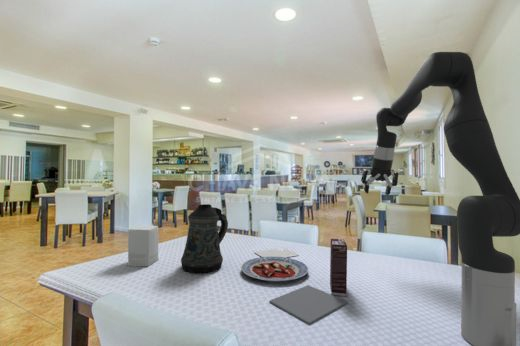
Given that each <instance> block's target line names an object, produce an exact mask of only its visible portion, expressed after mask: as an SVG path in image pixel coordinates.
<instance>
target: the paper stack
mask: <svg viewBox="0 0 520 346" xmlns="http://www.w3.org/2000/svg"><path fill="white" fill-rule="evenodd" d="M253 253H254V254H256V255H257V256H260V257H285V258H290V257H291V258H292V257H297V256H298V254H297V253H295V252H293V251H291V250H289V249H286V248H284V249H283V251H281V250H280V251H279V250H278V249H277V248H271V249H264V250H258V251H253Z"/></svg>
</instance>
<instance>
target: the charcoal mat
mask: <svg viewBox="0 0 520 346" xmlns="http://www.w3.org/2000/svg"><path fill="white" fill-rule="evenodd" d="M269 303H270V304H272V305H274V306H276V307H277V308H278V309H280V310H282V311H284V312H285V313H287V314H289V315H291V316H293V317H295V318H296V319H298V320H300V321H301V322H304V323H305V324H307V325H312V324H314V323H315V322H317V321H319V320H321V319H323V318H324V317H326V316H328V315H329V314H331V313H333V312H336V310H338V309H341V308H342V307H344V306H346V305H347V304H349V301H347V300H345V299H343V298H340V297H339V296H338V297H337V296H336V295H332V294H330V293H329V292H326V291H323V290H321V289H318V288H316V287H313V286H311V285H309V284H308V285H304V286H303V287H300V288H297V289H295V290H292V291H290V292H287V293H284V294H283V295H280V296H278V297H275V298H273V299H271V300H269Z"/></svg>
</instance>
